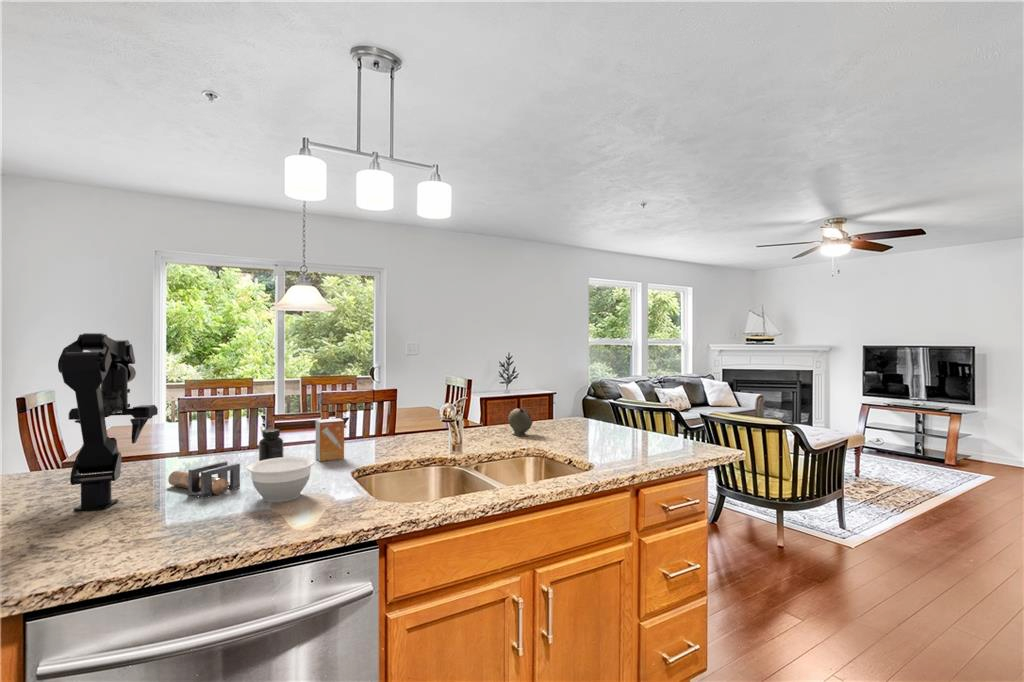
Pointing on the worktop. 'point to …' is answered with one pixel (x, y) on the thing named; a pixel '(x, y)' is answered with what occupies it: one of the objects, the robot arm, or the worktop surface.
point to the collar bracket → (207, 474)
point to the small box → (329, 439)
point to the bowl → (280, 477)
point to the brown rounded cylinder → (183, 481)
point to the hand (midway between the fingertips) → (114, 444)
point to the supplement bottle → (270, 445)
